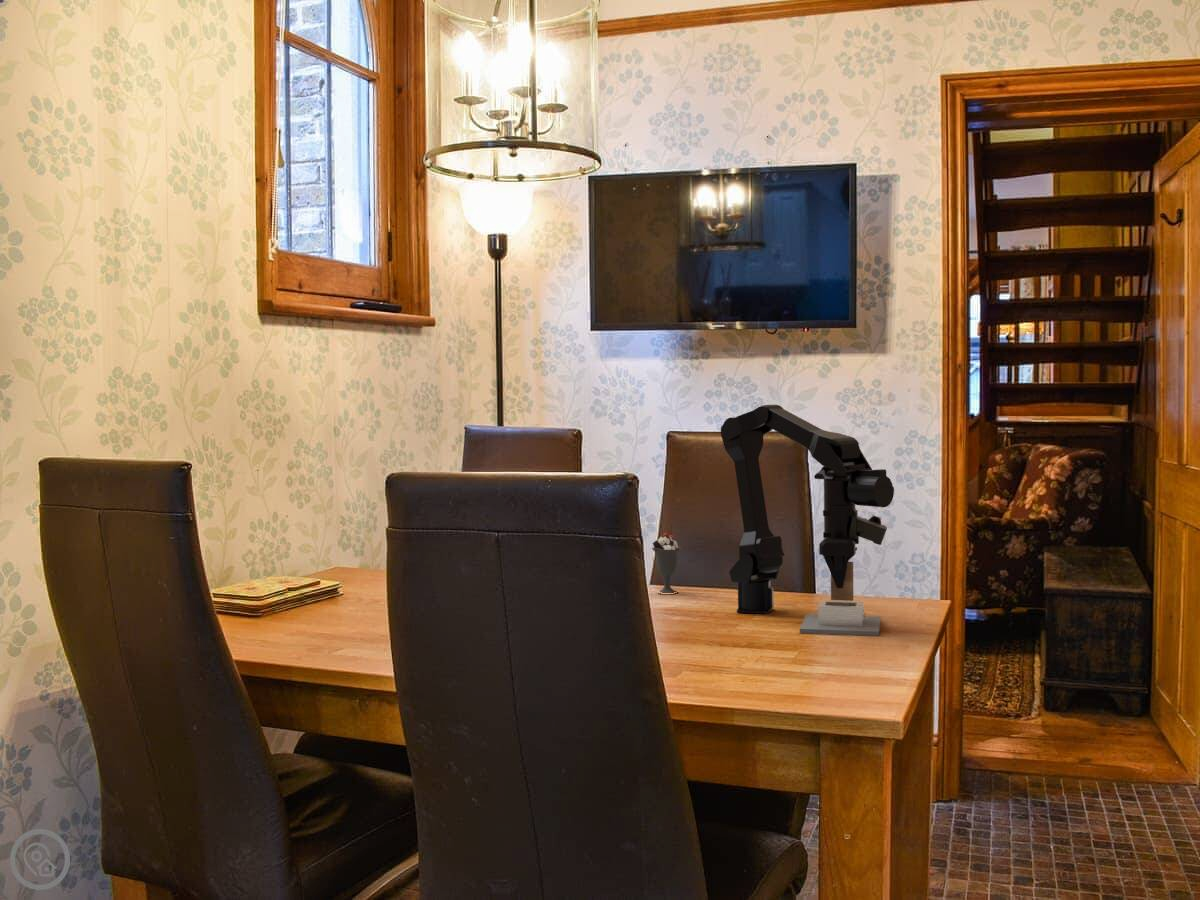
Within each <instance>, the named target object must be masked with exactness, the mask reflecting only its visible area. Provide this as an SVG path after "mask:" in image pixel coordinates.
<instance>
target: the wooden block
mask: <svg viewBox="0 0 1200 900" xmlns="http://www.w3.org/2000/svg"><path fill="white" fill-rule="evenodd" d="M830 601H854V561H848V563H847V568H846V574H845V580H844V585H843V588H837V587H836V584H835V582H834V580H833V577H832V575H831V574H830Z"/></svg>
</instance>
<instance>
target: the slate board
mask: <svg viewBox="0 0 1200 900" xmlns="http://www.w3.org/2000/svg"><path fill="white" fill-rule="evenodd" d="M881 619H882V617H881V616H873V615H864V621H863V626H833V625H818V614H813V613H812V614H808V613H807V614H806V615H805V616H804V620H803V621H802V623H801V625H800V628H799V634H814V635H815V634H816V635H842V636H843V635H844V636H868V637H869V636H870V637H872V636H873V637H880V629H881Z"/></svg>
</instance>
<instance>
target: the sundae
mask: <svg viewBox="0 0 1200 900" xmlns="http://www.w3.org/2000/svg"><path fill="white" fill-rule="evenodd" d="M672 528H673V525H669V528H668V530H667V531H666V532H664V533H663V534H662V535H661V536H660V537H659V538H658V539H657V540H655V541H653V542H652V545H653V546H652V547H651V550H653V552H654V554H655V560H656V561H655V563H656V567H657V572H658V573H659V575H660V576H662V577H663V579H664V586H663V588H662V589H661V590H659V591H660V592H662V593H674V592H676V591H677V590H675V589H673V588H672V587H671V583H670V579H671V577H672V576H674V575H675V573H676V571H677V565H678V559H679V551H680V550H681V549H682V547H680V546H679V544H678V542H677V541H676V540H675V536H674V535H673V534H672V533H673V532H672V531H671V529H672ZM669 531H670V534H669V533H668V532H669Z"/></svg>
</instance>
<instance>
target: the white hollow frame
mask: <svg viewBox="0 0 1200 900" xmlns="http://www.w3.org/2000/svg"><path fill="white" fill-rule="evenodd" d="M864 607H865V605H864V601H856V600H855V601H854V600H853V601H844V600H819V603H818V605H817V615H818V625H833V626H863V621H864V616H865V614H864V613H865V611H864V610H865V609H864Z"/></svg>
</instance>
